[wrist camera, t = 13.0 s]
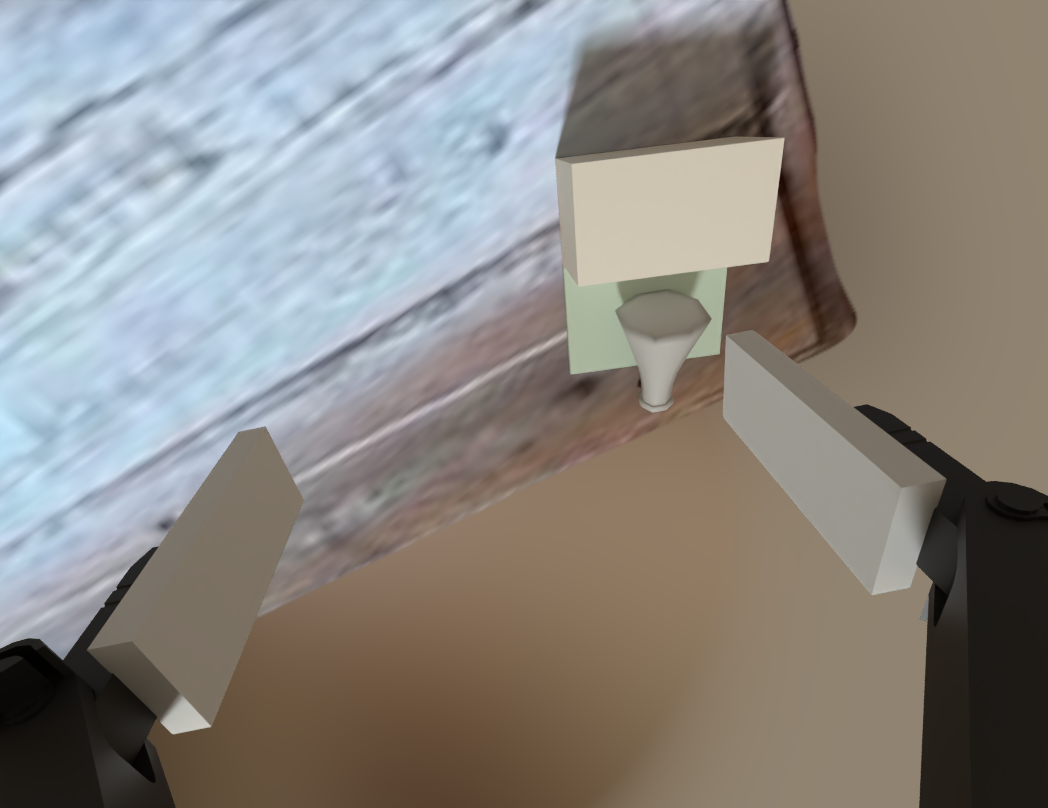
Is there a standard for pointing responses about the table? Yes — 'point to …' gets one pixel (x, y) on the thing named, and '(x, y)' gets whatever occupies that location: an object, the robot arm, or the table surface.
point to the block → (668, 208)
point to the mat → (600, 332)
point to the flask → (661, 340)
